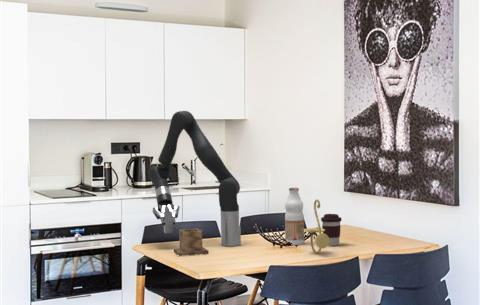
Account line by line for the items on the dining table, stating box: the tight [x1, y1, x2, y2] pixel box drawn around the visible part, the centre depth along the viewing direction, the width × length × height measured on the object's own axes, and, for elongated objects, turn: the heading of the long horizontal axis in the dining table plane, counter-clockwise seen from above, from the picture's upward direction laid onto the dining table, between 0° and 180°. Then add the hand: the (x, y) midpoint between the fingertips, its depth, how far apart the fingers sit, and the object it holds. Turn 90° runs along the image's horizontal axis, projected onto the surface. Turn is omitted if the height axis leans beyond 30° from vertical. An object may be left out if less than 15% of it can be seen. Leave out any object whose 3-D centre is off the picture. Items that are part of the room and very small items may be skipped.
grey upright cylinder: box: [163, 211, 174, 234], centre depth 296 cm, size 4×4×10 cm
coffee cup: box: [320, 213, 342, 247], centre depth 297 cm, size 10×10×15 cm
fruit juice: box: [284, 187, 305, 246], centre depth 303 cm, size 9×9×28 cm
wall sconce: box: [304, 198, 329, 255], centre depth 275 cm, size 14×10×25 cm
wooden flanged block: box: [173, 228, 210, 257], centre depth 284 cm, size 14×12×10 cm
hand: (169, 224), depth 294 cm, fingers closed on grey upright cylinder, 4 cm apart
